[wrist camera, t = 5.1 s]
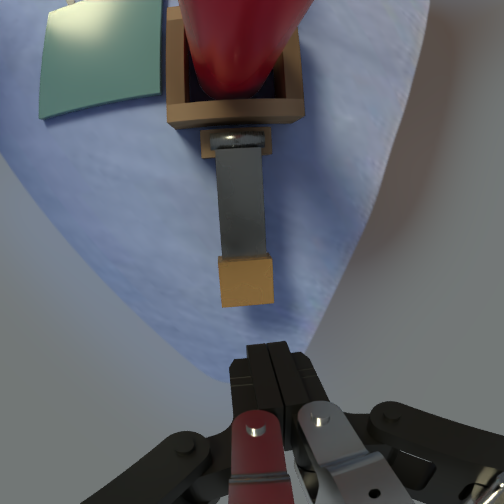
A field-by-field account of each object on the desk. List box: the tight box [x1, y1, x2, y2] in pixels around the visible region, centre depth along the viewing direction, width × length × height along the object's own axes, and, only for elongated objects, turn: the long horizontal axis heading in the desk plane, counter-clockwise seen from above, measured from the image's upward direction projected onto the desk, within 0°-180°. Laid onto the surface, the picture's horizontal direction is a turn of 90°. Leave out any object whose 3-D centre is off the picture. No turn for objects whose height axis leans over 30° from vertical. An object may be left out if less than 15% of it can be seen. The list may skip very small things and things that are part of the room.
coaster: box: [39, 0, 163, 120], centre depth 19 cm, size 11×11×1 cm
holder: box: [166, 6, 305, 159], centre depth 20 cm, size 9×12×4 cm
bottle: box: [178, 0, 314, 100], centre depth 12 cm, size 5×5×20 cm
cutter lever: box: [210, 131, 274, 308], centre depth 21 cm, size 12×4×2 cm, turn 3°
